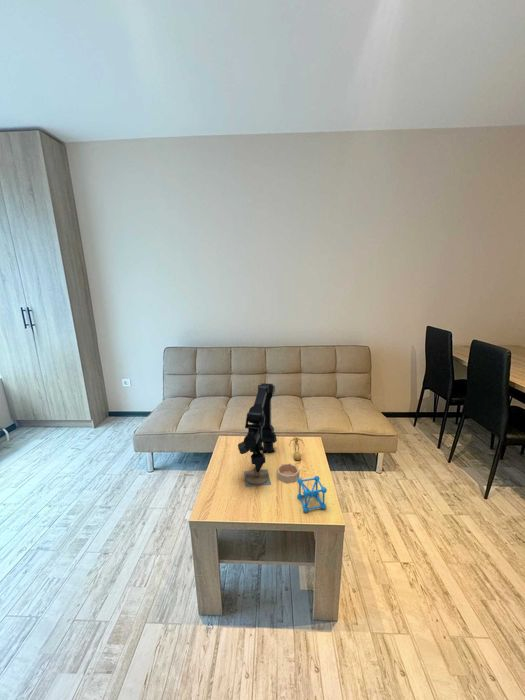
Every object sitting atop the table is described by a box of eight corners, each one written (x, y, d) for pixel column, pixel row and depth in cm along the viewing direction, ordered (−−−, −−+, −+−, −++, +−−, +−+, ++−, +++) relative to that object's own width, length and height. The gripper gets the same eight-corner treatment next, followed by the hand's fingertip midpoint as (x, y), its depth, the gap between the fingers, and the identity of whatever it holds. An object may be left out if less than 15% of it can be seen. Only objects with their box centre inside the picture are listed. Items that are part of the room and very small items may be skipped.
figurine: (290, 462, 157) (290, 441, 155) (288, 455, 163) (288, 435, 161) (305, 461, 158) (306, 440, 156) (303, 454, 164) (303, 434, 161)
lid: (244, 471, 149) (244, 462, 148) (266, 469, 150) (266, 460, 149) (246, 486, 138) (246, 476, 137) (270, 484, 139) (269, 474, 138)
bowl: (276, 471, 149) (276, 464, 148) (295, 470, 150) (295, 462, 150) (279, 484, 140) (279, 477, 139) (300, 482, 141) (300, 475, 140)
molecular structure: (327, 510, 124) (327, 488, 121) (303, 514, 122) (304, 492, 119) (317, 494, 133) (318, 474, 131) (296, 497, 131) (296, 477, 129)
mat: (243, 472, 149) (243, 471, 149) (267, 470, 151) (267, 469, 151) (245, 488, 138) (245, 487, 138) (271, 485, 139) (271, 484, 139)
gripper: (237, 428, 148) (238, 456, 151) (239, 448, 130) (241, 480, 133) (260, 426, 149) (260, 454, 152) (265, 446, 131) (265, 477, 134)
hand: (256, 466), depth 143 cm, fingers open, 9 cm apart
